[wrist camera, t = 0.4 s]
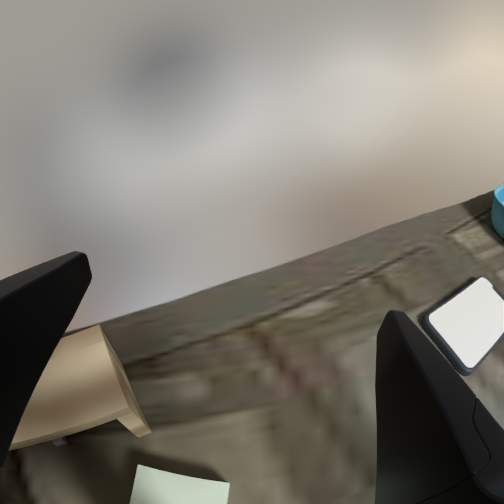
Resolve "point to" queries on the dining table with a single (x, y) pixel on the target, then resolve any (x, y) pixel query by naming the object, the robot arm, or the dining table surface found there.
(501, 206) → the casserole dish
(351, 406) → the dining table surface
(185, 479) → the sage green flanged block
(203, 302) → the dining table surface
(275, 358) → the dining table surface
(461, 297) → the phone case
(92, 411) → the beige u-shaped channel
